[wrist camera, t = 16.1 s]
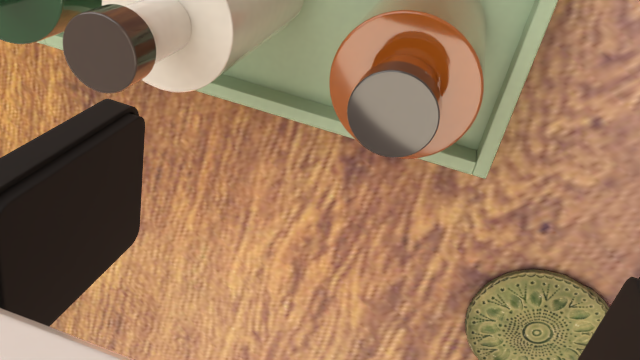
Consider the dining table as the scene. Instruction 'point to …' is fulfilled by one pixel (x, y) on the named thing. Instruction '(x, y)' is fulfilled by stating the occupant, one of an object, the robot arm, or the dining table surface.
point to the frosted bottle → (169, 40)
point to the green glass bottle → (38, 18)
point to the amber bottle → (411, 76)
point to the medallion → (533, 317)
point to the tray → (327, 35)
